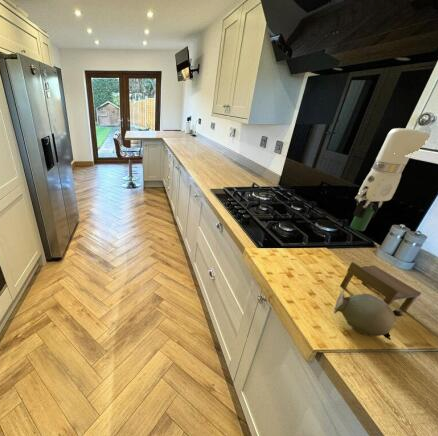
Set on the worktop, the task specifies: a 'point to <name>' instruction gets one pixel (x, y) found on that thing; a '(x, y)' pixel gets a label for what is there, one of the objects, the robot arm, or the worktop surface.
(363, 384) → the worktop surface
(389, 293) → the rack
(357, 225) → the bottle
